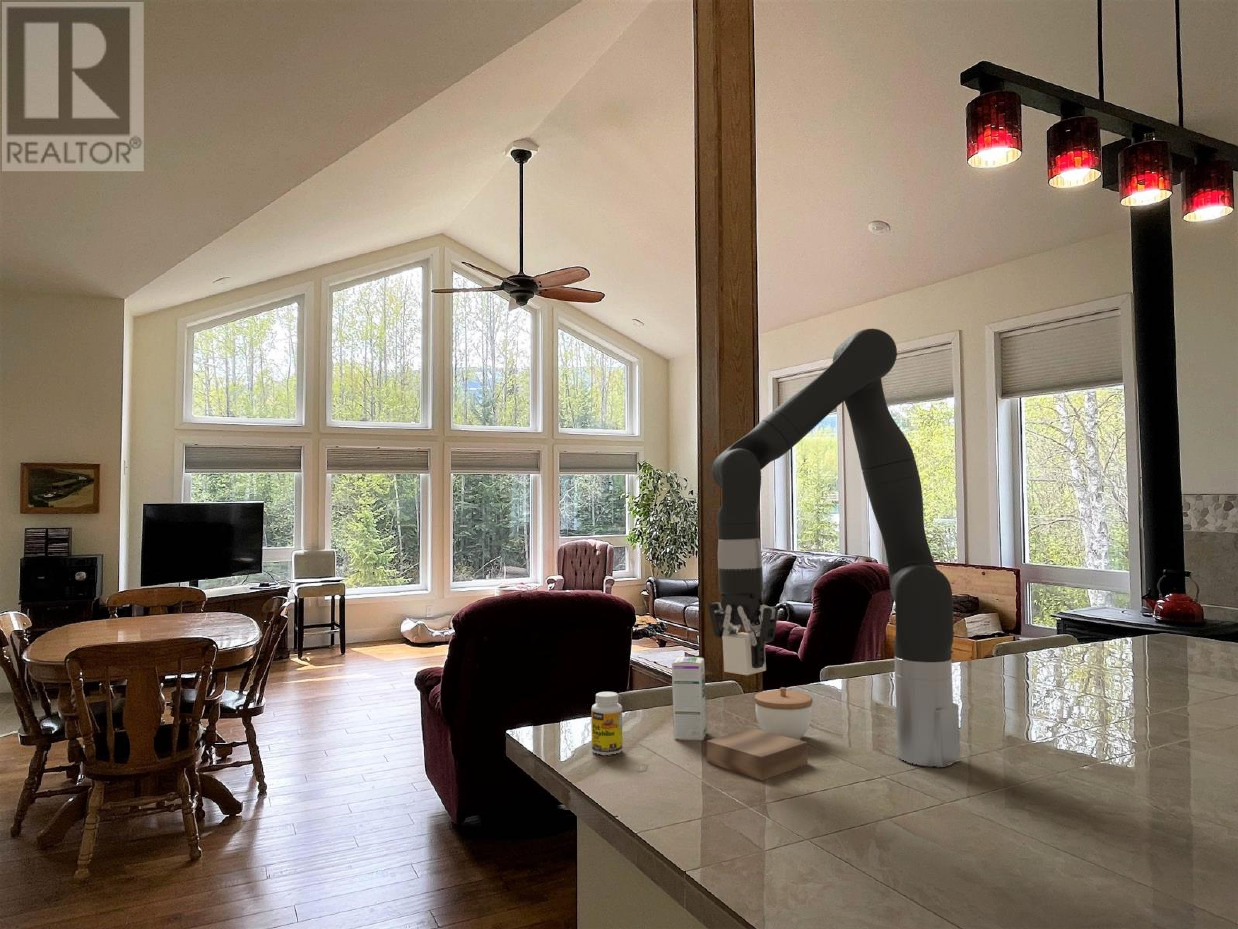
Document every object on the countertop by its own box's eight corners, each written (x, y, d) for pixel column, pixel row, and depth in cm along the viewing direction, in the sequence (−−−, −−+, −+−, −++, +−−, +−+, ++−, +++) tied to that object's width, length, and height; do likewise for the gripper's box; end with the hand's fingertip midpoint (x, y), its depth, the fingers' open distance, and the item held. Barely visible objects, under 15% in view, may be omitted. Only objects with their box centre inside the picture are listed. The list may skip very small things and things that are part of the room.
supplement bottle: (587, 755, 139) (586, 696, 140) (597, 746, 144) (597, 689, 145) (617, 758, 137) (616, 698, 138) (626, 748, 143) (625, 691, 143)
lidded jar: (814, 748, 142) (813, 695, 142) (754, 745, 144) (753, 693, 144) (812, 731, 152) (811, 682, 153) (756, 729, 154) (755, 681, 155)
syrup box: (704, 741, 147) (702, 662, 148) (672, 739, 148) (671, 661, 149) (706, 732, 152) (705, 656, 153) (676, 731, 154) (675, 656, 154)
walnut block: (807, 766, 133) (807, 742, 133) (762, 782, 125) (761, 757, 126) (752, 750, 142) (752, 728, 142) (707, 764, 134) (706, 741, 135)
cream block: (765, 670, 134) (764, 635, 134) (746, 675, 130) (745, 638, 131) (743, 667, 138) (741, 632, 138) (724, 671, 134) (722, 636, 135)
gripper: (787, 564, 132) (792, 667, 131) (723, 563, 143) (727, 657, 142) (758, 568, 127) (764, 674, 126) (694, 566, 138) (699, 664, 137)
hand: (744, 665), depth 134 cm, fingers closed on cream block, 5 cm apart
